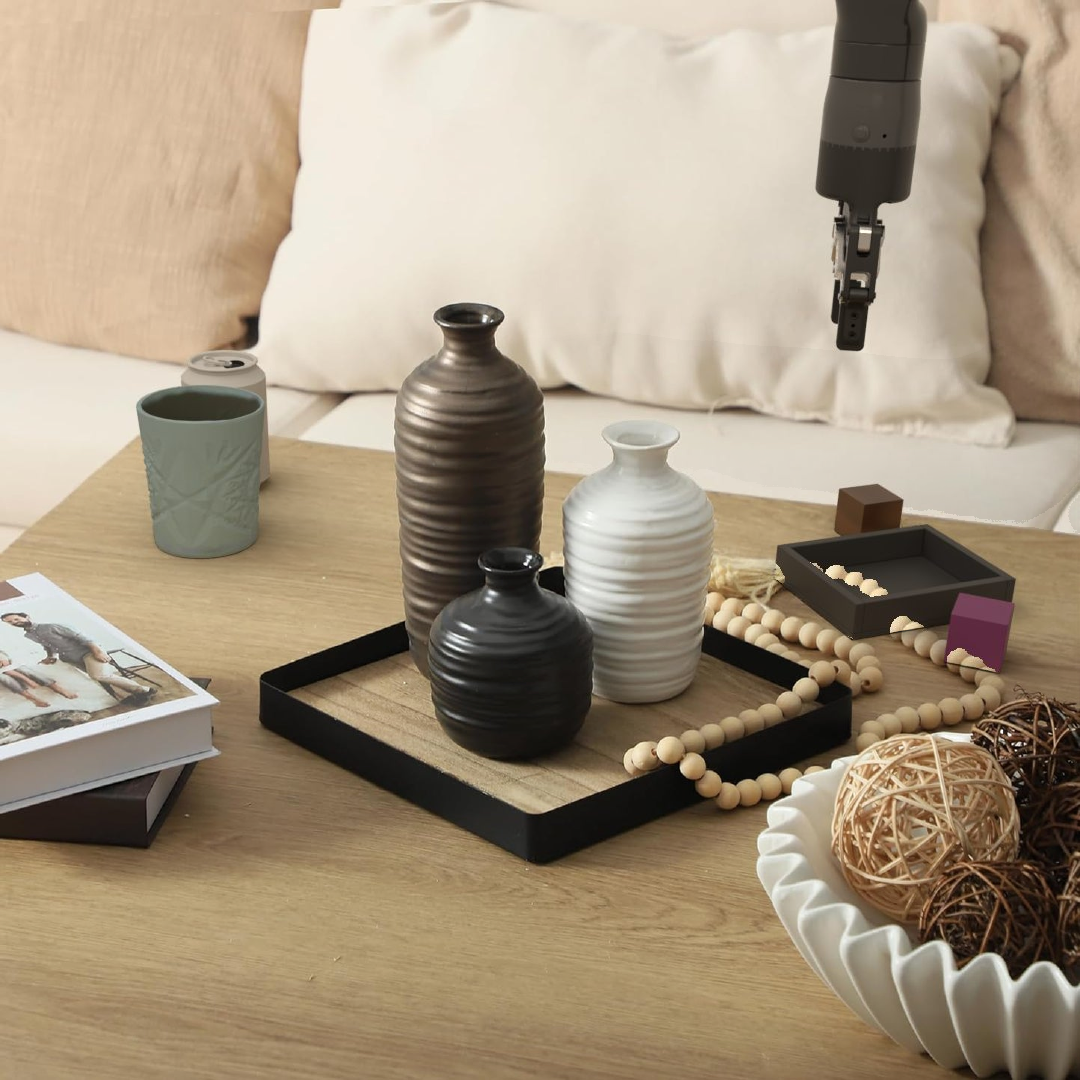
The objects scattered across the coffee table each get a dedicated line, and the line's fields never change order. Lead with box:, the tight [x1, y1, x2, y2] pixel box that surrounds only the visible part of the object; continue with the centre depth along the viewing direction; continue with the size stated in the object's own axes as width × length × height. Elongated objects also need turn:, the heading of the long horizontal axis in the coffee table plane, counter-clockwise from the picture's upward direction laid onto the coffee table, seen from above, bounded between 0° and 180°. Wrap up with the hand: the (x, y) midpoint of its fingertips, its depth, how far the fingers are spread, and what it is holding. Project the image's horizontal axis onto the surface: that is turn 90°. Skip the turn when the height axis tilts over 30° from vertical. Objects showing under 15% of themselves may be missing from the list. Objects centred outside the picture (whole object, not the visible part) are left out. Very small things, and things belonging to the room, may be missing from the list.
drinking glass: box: [135, 385, 265, 559], centre depth 122 cm, size 10×10×12 cm
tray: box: [774, 523, 1017, 641], centre depth 117 cm, size 15×12×3 cm
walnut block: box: [833, 483, 904, 536], centre depth 128 cm, size 4×4×4 cm
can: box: [180, 349, 271, 486], centre depth 134 cm, size 8×8×12 cm
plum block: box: [943, 593, 1016, 674], centre depth 108 cm, size 4×4×4 cm
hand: (846, 336), depth 123 cm, fingers open, 8 cm apart
